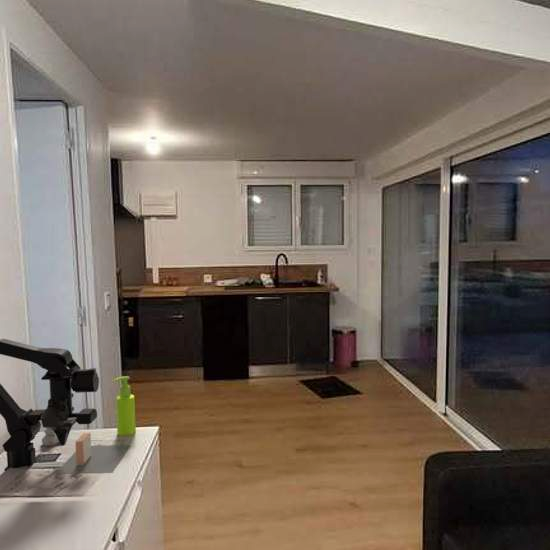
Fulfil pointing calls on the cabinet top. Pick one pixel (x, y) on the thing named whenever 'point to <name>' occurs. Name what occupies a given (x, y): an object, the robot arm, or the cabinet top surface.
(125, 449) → the slate board
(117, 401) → the soap dispenser
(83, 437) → the tile
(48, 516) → the cabinet top surface
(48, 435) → the grey lumpy pointed piece
